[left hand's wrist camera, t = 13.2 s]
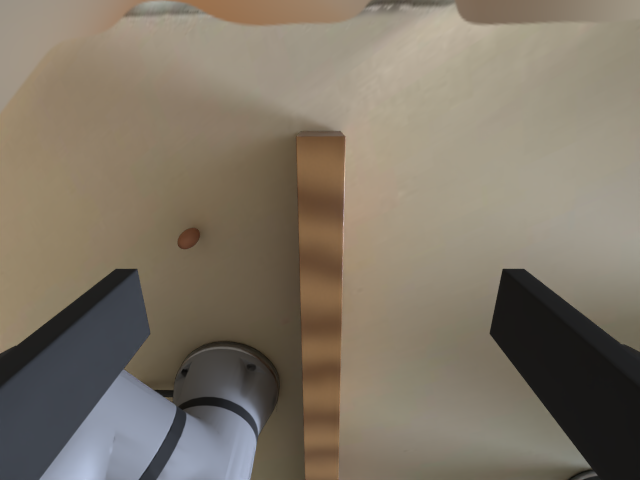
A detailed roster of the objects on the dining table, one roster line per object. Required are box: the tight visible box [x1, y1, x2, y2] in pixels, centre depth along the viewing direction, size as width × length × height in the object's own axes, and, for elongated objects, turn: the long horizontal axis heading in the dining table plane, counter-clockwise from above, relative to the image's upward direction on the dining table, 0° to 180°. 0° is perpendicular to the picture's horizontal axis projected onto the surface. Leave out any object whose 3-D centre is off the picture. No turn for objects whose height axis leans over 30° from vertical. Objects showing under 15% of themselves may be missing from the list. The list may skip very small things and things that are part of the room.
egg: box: [178, 228, 200, 249], centre depth 42 cm, size 2×2×5 cm
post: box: [296, 131, 346, 480], centre depth 48 cm, size 69×5×8 cm, turn 0°
